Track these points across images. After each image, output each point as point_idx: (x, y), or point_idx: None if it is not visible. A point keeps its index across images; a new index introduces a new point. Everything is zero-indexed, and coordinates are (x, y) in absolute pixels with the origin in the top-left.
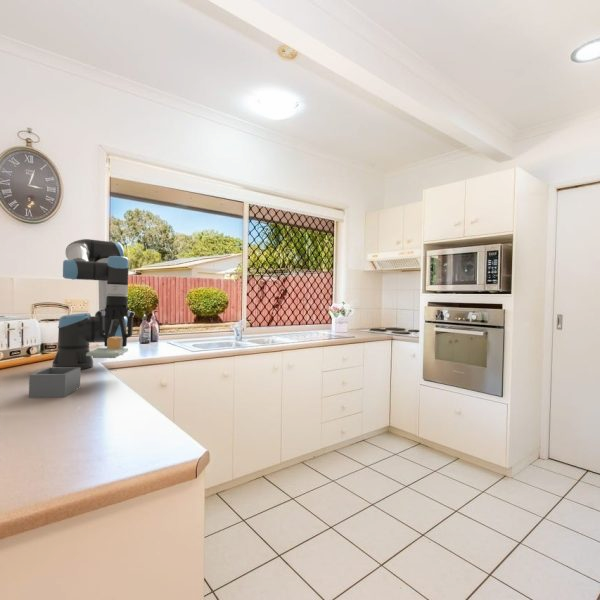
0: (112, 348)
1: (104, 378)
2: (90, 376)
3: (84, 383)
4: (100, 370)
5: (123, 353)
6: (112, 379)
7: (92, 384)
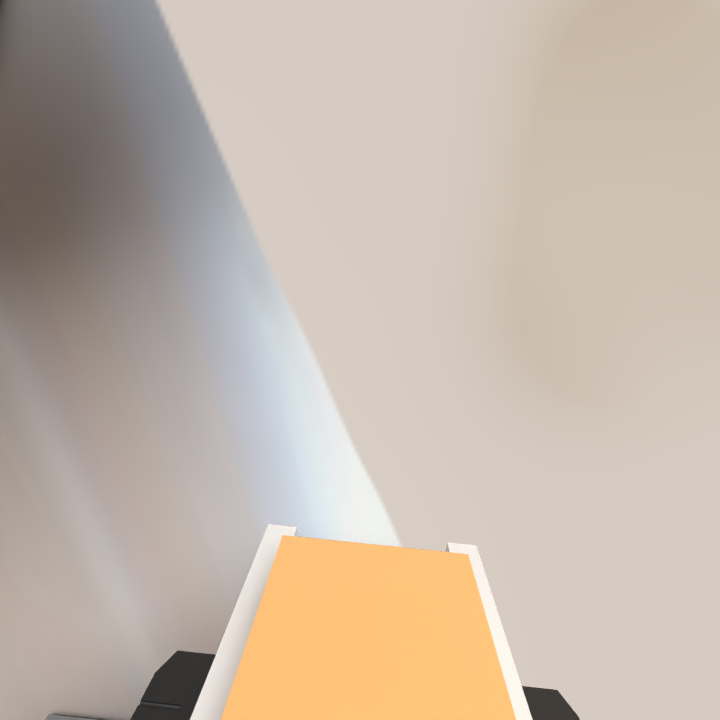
0: None
1: (305, 490)
2: (173, 403)
3: (214, 621)
4: (168, 119)
5: (477, 564)
6: (374, 531)
7: None
